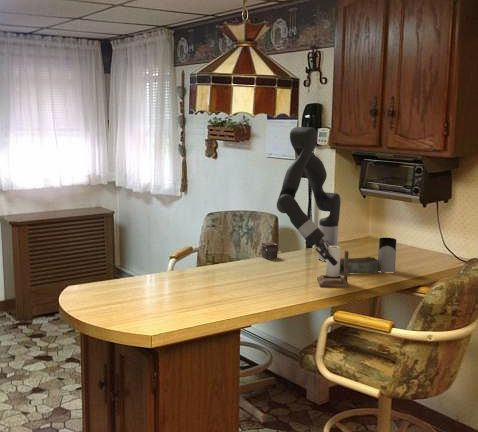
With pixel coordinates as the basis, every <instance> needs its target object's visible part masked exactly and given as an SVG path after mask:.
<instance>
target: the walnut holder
mask: <svg viewBox="0 0 478 432" xmlns="http://www.w3.org/2000/svg"><path fill="white" fill-rule="evenodd" d="M349 253H350V252H349V250H346V249H345V250H344V255H343V256H344V257H343V258H344V274H340V276H338V277H330V276H327V275H325V274H320V275H319V276H317V277H316V280H317V284H318V285H319V287H320V288H345V289H346V288H349V289H350V283H349V281H348V277H349V276H348V275H349V274H348V258H349V255H350V254H349Z"/></svg>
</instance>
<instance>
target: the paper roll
mask: <svg viewBox="0 0 478 432" xmlns="http://www.w3.org/2000/svg"><path fill="white" fill-rule="evenodd" d="M328 249H329V252H330V254H331V255H332V256H333V258H334V259H335V260H336V261H337V262H338V263H337V264H336V265H335V266H333V265H332V264H331V263H330V261H329V260H327V261H326V271H325V274H326V275H327V276H330V277H338V276H340V275H341V274H340V258H341V252H342V250H341V249H342V247H341V246H338V245H337V246H328ZM332 256H331V257H332Z"/></svg>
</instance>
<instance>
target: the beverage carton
mask: <svg viewBox="0 0 478 432" xmlns="http://www.w3.org/2000/svg"><path fill="white" fill-rule="evenodd" d="M340 259H341V260H340V275H344V257H343V258H341V257H340ZM378 271H379V261H378V258H377V259H376V258H375V257H371V256H367V257H348V273H377V274H379V272H378Z"/></svg>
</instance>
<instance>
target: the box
mask: <svg viewBox="0 0 478 432" xmlns="http://www.w3.org/2000/svg"><path fill="white" fill-rule="evenodd" d="M278 246H279V245H278V243H275V242H273V241H271V242H270V241H269V242H268V241H267V242H261V258H263V259H265V260H267V259H268V260H276V258H277V259H278V249H279V248H278Z"/></svg>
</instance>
